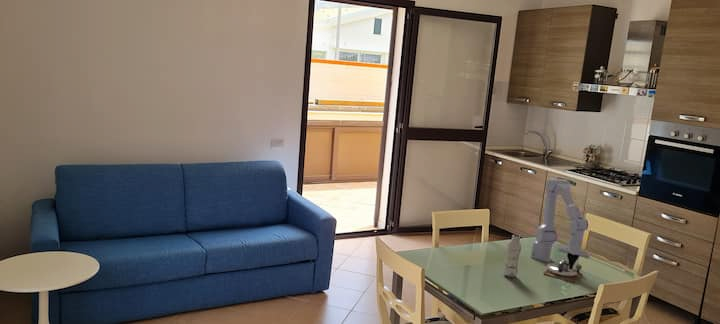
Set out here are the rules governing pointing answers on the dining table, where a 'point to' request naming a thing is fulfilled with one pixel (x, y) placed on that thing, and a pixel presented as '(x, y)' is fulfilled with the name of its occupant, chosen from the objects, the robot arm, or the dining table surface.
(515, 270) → the plastic bottle
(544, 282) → the dining table surface
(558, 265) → the cover
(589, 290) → the dining table surface
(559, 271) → the turntable
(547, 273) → the base board
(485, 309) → the dining table surface
